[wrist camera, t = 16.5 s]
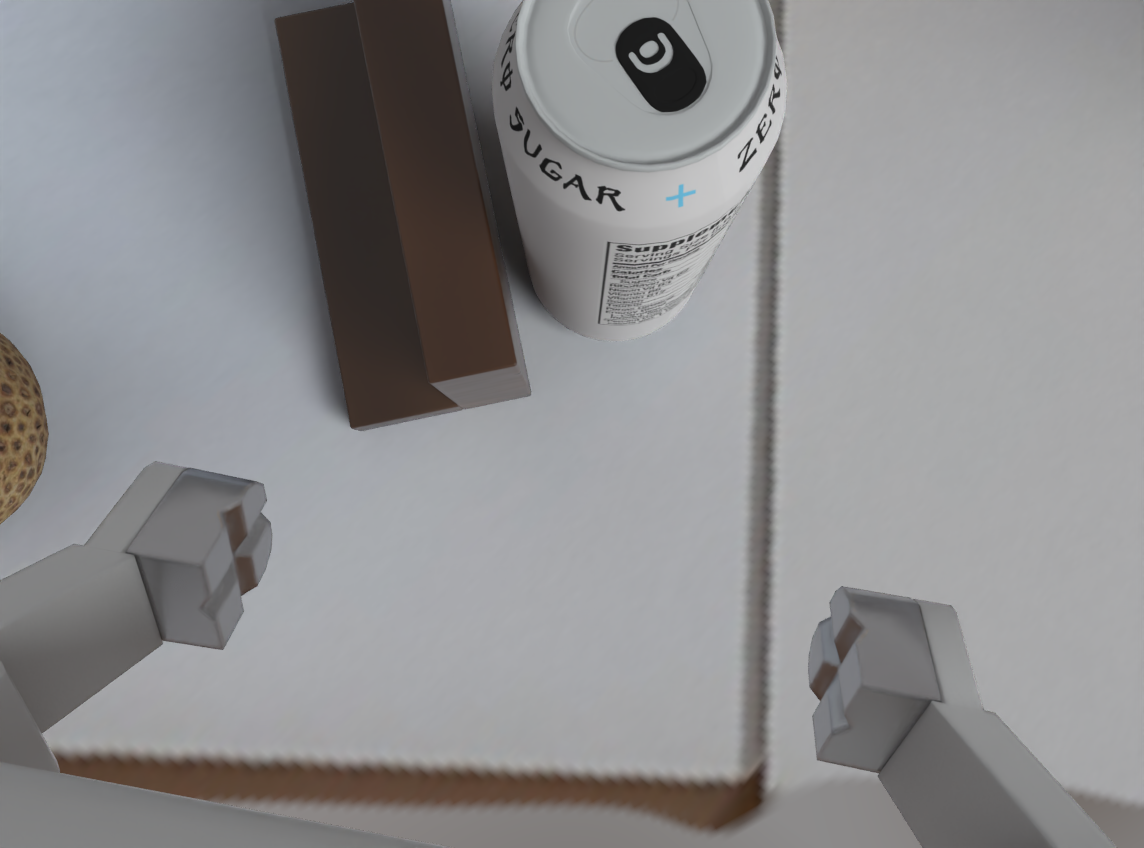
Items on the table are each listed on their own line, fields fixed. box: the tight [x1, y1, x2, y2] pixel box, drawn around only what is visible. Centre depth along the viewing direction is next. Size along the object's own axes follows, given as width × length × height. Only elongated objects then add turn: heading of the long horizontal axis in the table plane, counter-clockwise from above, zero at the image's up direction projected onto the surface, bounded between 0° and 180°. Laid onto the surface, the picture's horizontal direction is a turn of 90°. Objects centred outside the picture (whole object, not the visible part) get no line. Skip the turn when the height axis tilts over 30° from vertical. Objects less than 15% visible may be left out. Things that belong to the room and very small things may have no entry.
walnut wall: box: [275, 0, 531, 431], centre depth 27 cm, size 6×15×7 cm, turn 12°
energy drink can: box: [491, 0, 787, 342], centre depth 23 cm, size 6×6×15 cm
